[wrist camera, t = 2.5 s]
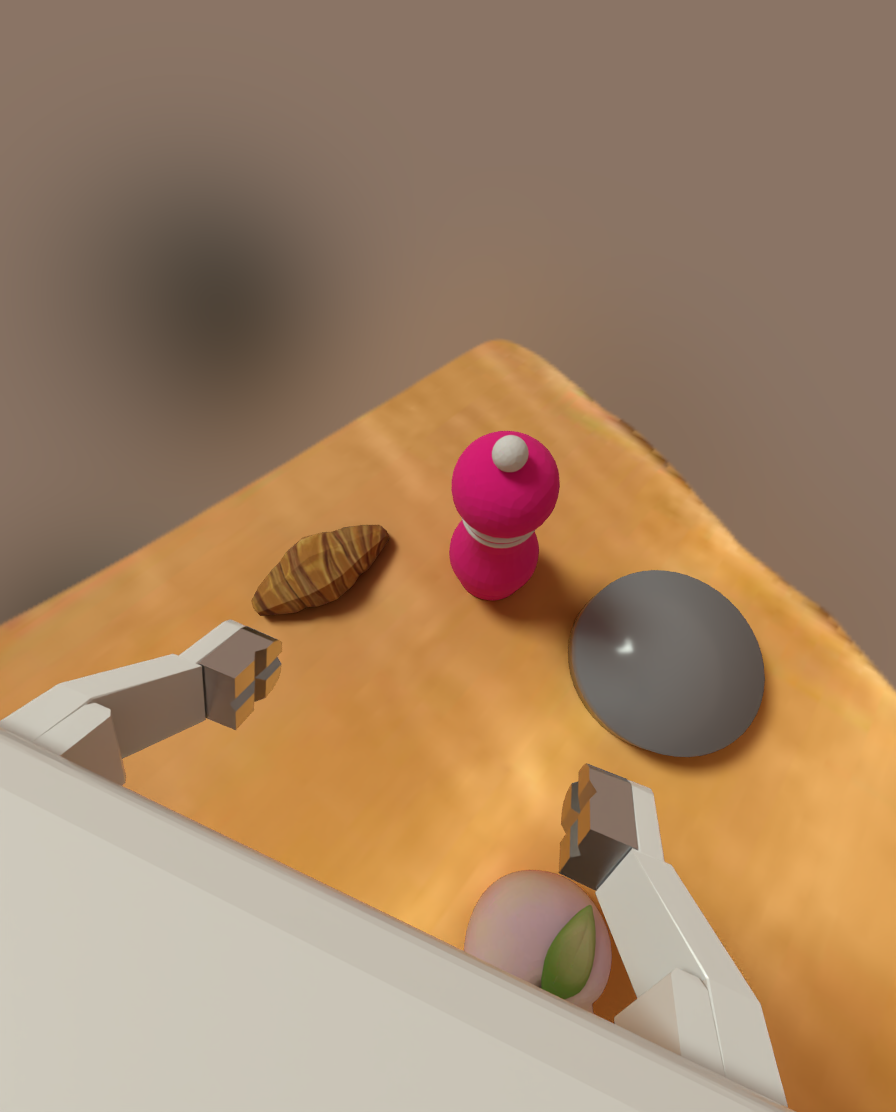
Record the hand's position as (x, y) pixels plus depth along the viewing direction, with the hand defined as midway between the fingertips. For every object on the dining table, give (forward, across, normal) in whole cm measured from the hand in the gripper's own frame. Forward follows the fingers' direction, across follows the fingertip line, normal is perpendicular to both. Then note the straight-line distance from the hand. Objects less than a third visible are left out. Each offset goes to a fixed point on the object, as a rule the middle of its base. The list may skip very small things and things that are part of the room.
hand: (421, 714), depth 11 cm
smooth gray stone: (+24, -15, +12) cm, 31 cm away
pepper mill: (+27, +1, +10) cm, 29 cm away
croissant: (+23, +15, +15) cm, 31 cm away
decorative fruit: (+10, -10, +27) cm, 30 cm away
